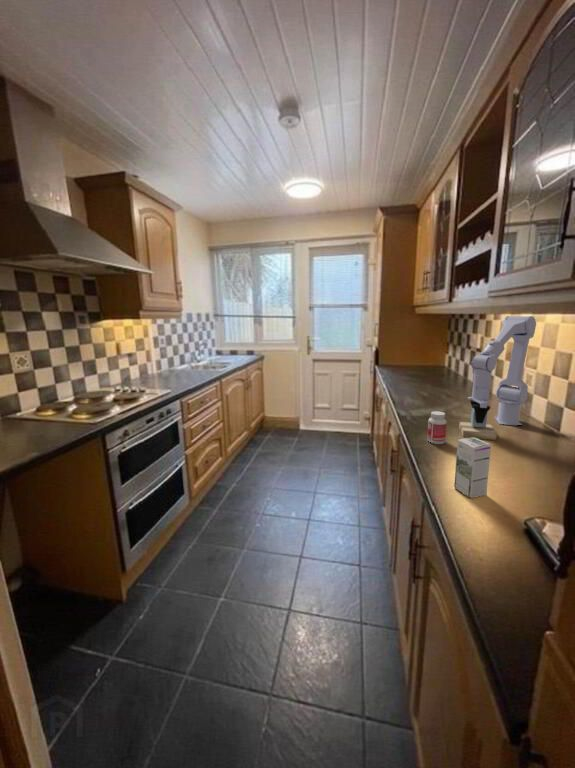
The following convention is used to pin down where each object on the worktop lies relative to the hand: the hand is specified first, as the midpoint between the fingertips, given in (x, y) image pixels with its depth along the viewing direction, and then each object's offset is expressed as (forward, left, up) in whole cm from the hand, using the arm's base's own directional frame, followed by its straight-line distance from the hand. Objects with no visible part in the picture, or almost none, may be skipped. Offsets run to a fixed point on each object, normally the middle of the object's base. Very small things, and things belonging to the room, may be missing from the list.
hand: (478, 420), depth 130 cm
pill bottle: (+13, -16, -5) cm, 21 cm away
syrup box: (+48, -10, -5) cm, 49 cm away
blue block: (0, 0, -2) cm, 2 cm away
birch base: (0, 0, -5) cm, 5 cm away
